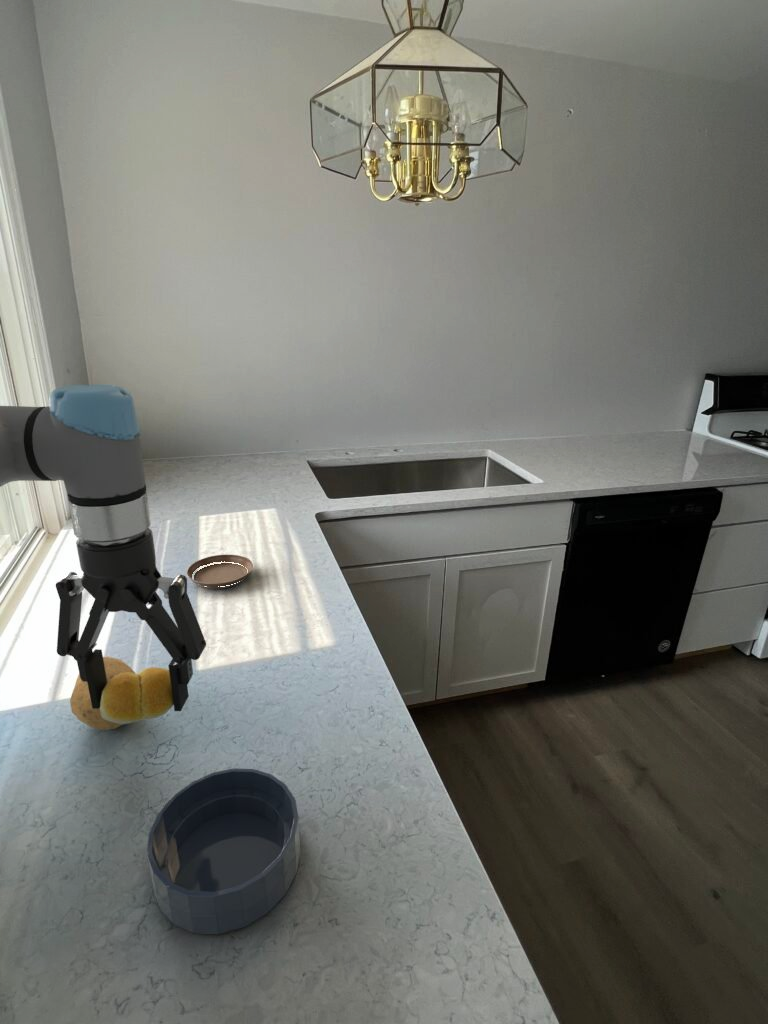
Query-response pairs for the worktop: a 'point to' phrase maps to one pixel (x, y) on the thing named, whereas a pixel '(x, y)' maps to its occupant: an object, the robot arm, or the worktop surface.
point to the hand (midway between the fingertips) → (141, 702)
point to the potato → (82, 699)
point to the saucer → (220, 571)
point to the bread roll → (137, 696)
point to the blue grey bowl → (224, 850)
